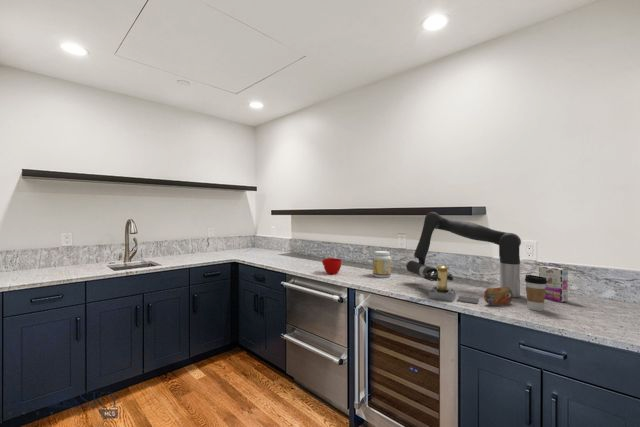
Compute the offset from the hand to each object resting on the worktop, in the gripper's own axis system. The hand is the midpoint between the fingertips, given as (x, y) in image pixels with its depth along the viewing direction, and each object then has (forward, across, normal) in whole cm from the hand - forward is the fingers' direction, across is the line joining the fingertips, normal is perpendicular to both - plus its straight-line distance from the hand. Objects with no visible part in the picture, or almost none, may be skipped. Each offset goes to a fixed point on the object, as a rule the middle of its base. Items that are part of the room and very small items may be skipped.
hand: (444, 278), depth 158 cm
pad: (+5, +10, +10) cm, 15 cm away
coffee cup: (+22, +33, +10) cm, 40 cm away
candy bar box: (+9, +55, +10) cm, 57 cm away
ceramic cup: (-72, -46, +10) cm, 86 cm away
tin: (+13, +20, +10) cm, 26 cm away
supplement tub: (-57, -13, +10) cm, 59 cm away
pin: (-2, 0, +10) cm, 10 cm away
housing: (-2, 0, +10) cm, 10 cm away
